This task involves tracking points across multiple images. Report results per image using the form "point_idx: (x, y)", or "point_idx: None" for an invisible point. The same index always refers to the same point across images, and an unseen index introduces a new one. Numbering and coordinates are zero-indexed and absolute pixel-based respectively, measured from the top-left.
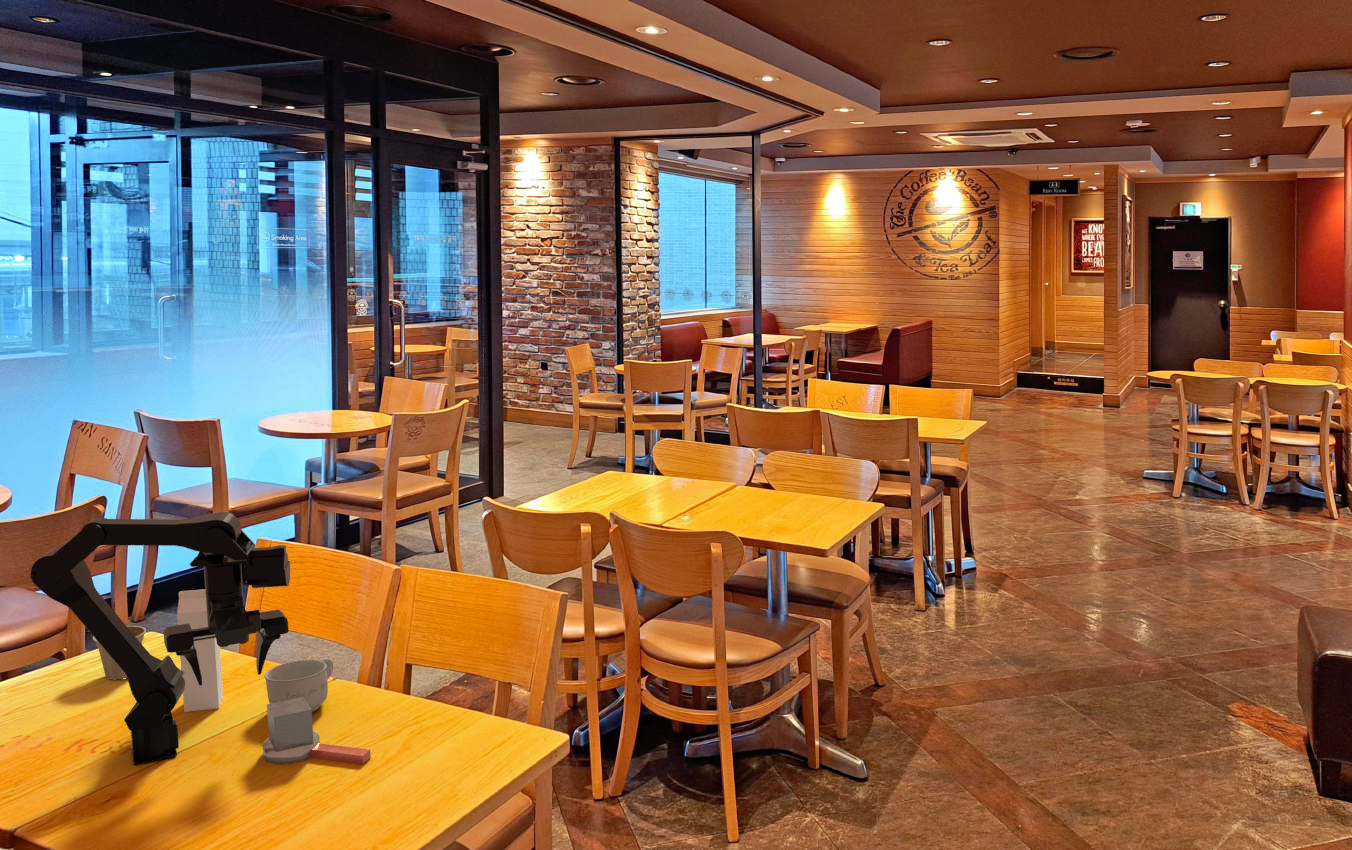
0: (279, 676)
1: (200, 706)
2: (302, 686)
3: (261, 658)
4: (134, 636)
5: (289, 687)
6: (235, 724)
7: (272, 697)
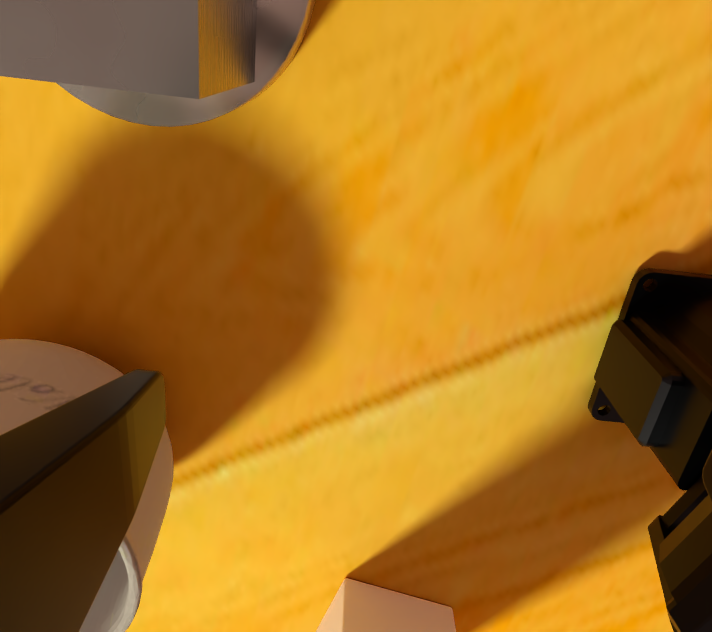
0: None
1: (403, 606)
2: None
3: (6, 468)
4: None
5: None
6: (331, 429)
7: None
